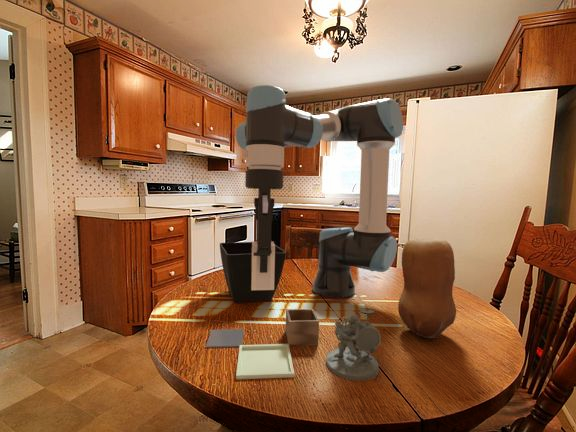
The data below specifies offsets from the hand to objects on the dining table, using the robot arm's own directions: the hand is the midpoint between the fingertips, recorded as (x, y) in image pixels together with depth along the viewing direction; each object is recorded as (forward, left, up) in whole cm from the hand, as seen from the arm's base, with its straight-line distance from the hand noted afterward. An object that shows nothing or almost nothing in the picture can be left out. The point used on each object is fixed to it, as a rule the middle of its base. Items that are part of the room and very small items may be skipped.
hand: (262, 283), depth 61 cm
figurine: (-19, +3, -17) cm, 25 cm away
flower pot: (+3, -39, -17) cm, 43 cm away
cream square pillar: (0, 0, -1) cm, 1 cm away
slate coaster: (+8, -9, -17) cm, 20 cm away
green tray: (-1, +1, -17) cm, 17 cm away
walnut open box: (-10, -8, -17) cm, 21 cm away
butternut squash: (-42, -9, -17) cm, 46 cm away
